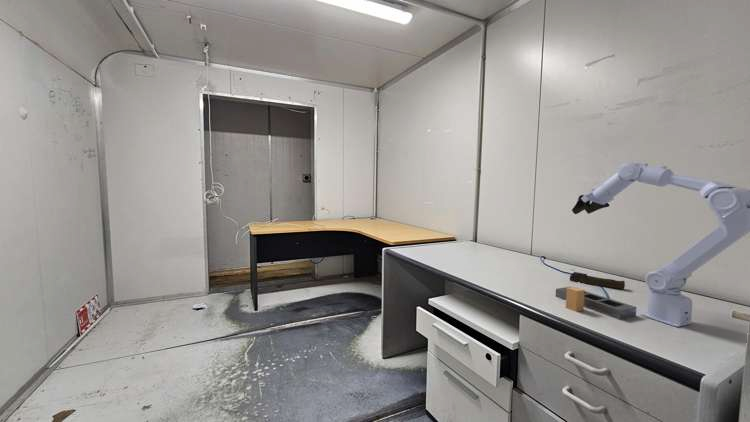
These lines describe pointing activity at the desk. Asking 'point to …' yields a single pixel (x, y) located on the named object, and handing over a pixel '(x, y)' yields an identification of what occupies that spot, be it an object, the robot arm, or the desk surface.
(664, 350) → the desk surface
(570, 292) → the peg
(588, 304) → the grey slotted block
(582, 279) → the hand tool
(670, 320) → the robot arm
